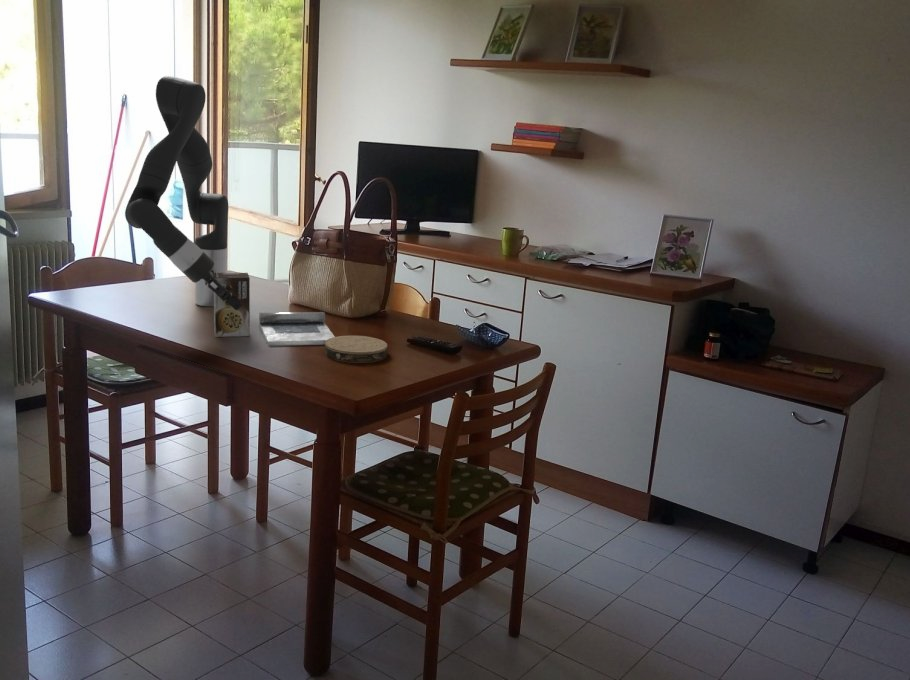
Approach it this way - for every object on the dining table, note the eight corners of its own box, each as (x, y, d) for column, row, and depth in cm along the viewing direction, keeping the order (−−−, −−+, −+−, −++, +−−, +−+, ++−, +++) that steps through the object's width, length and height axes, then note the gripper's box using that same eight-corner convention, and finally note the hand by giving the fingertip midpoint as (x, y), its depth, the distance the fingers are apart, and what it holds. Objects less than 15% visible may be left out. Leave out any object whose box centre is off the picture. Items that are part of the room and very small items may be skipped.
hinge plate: (258, 326, 233) (259, 311, 232) (322, 325, 239) (323, 311, 238) (268, 345, 215) (268, 330, 213) (337, 344, 221) (337, 328, 220)
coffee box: (248, 330, 228) (248, 272, 223) (250, 336, 222) (250, 277, 217) (213, 330, 225) (213, 271, 220) (214, 337, 219) (214, 276, 215)
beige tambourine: (343, 343, 224) (344, 332, 223) (397, 352, 218) (397, 341, 217) (312, 357, 209) (312, 345, 208) (369, 367, 204) (369, 356, 203)
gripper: (203, 255, 208) (251, 301, 215) (200, 245, 221) (245, 289, 228) (181, 275, 208) (230, 321, 215) (179, 265, 221) (225, 308, 228)
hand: (238, 304), depth 222 cm, fingers closed on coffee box, 6 cm apart
